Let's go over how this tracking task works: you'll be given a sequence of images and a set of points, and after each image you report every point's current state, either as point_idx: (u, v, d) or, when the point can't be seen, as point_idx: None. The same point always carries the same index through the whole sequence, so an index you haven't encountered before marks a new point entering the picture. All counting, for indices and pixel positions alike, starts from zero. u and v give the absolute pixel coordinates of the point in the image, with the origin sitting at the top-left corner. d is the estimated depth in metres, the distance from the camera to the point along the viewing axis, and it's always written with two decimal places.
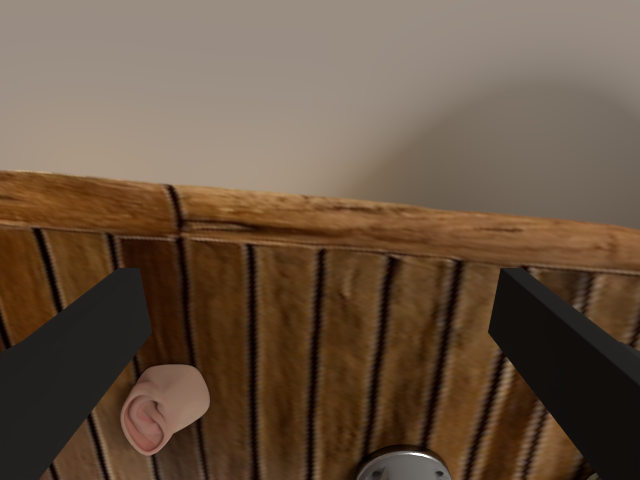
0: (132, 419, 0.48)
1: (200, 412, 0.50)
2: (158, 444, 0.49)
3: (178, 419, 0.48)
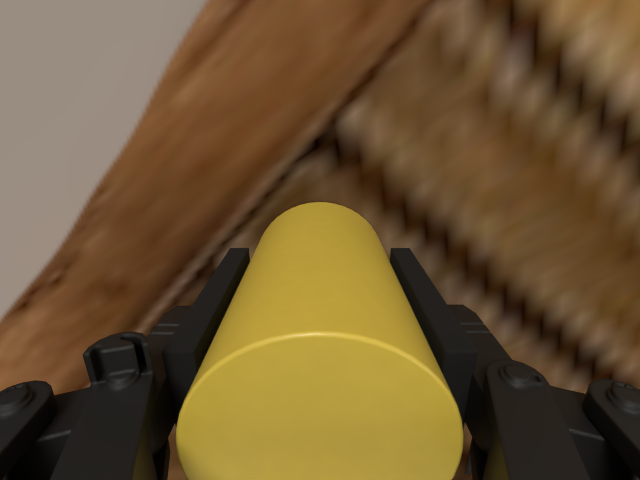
0: None
1: None
2: None
3: None
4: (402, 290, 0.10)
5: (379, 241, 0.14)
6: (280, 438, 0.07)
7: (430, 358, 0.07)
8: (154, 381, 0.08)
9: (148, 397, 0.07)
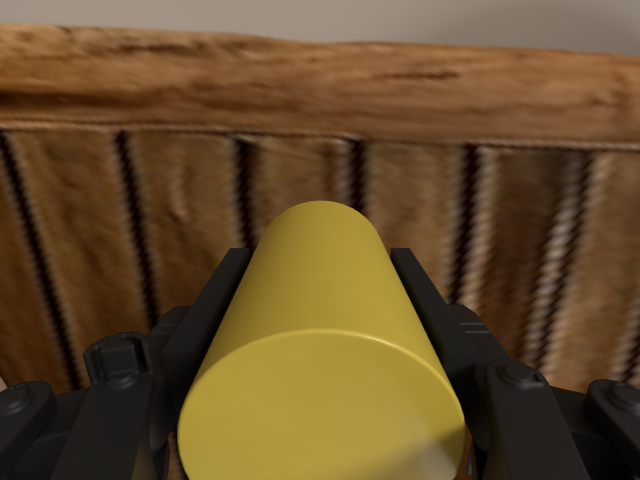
0: None
1: None
2: None
3: None
4: None
5: (380, 240, 0.14)
6: (281, 436, 0.07)
7: (432, 356, 0.07)
8: (154, 381, 0.08)
9: (148, 397, 0.07)
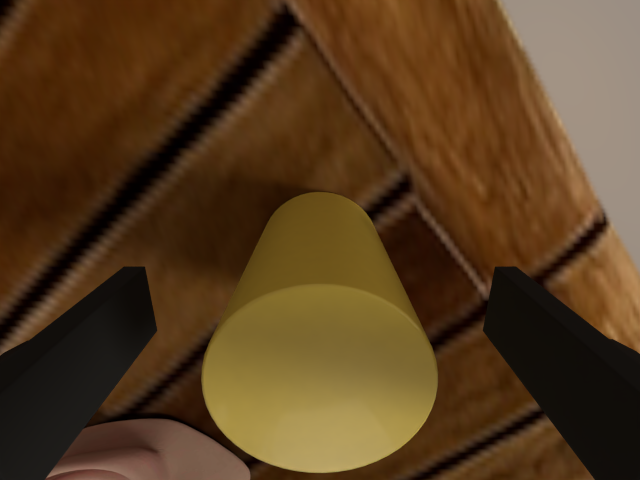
0: None
1: None
2: None
3: None
4: (391, 265, 0.12)
5: (373, 226, 0.15)
6: (286, 376, 0.08)
7: (410, 311, 0.08)
8: None
9: None
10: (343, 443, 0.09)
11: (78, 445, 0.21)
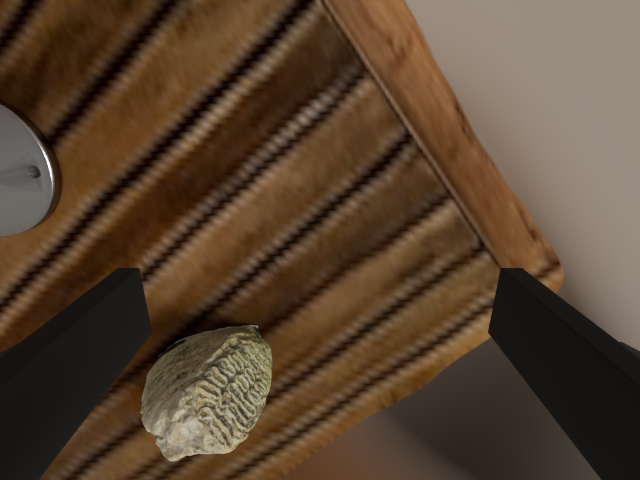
0: None
1: None
2: None
3: None
4: None
5: None
6: None
7: None
8: None
9: None
10: None
11: None
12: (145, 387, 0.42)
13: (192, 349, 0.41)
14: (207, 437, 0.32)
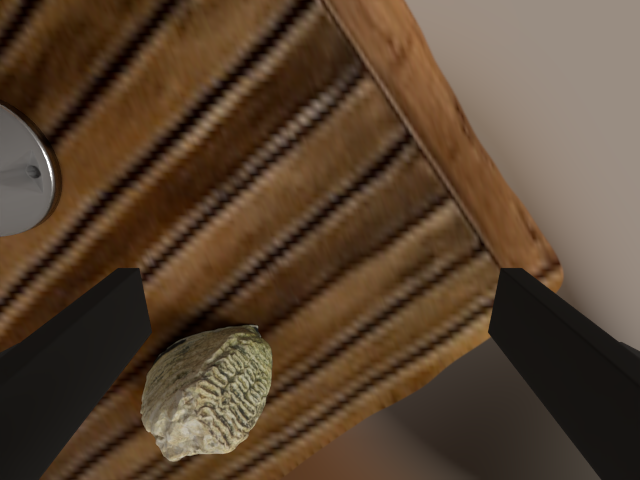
0: None
1: None
2: None
3: None
4: None
5: None
6: None
7: None
8: None
9: None
10: None
11: None
12: (145, 387, 0.42)
13: (192, 349, 0.41)
14: (207, 437, 0.32)
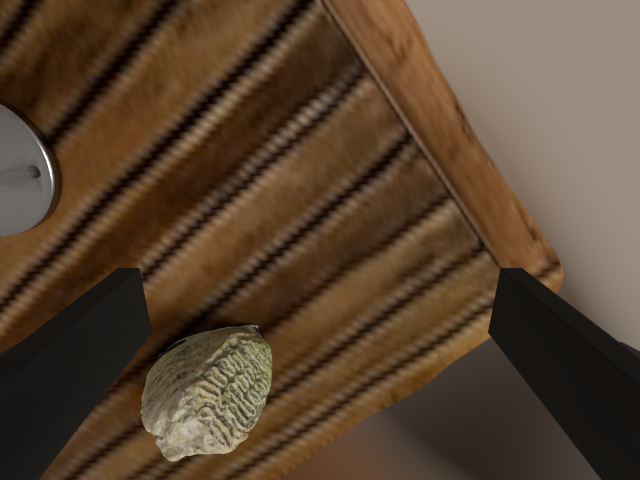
0: None
1: None
2: None
3: None
4: None
5: None
6: None
7: None
8: None
9: None
10: None
11: None
12: (145, 387, 0.42)
13: (192, 349, 0.41)
14: (207, 437, 0.32)
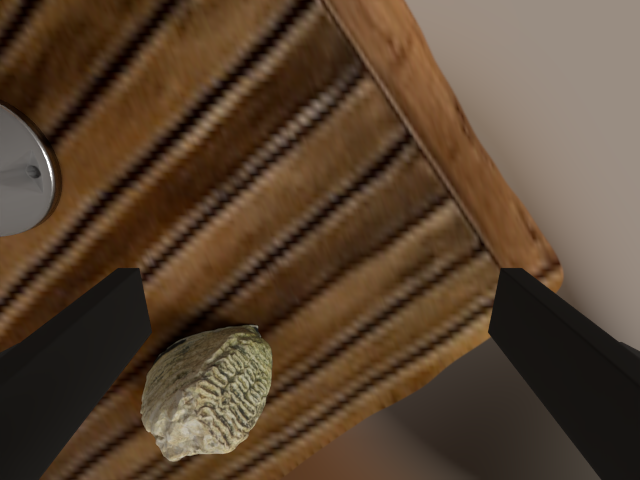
0: None
1: None
2: None
3: None
4: None
5: None
6: None
7: None
8: None
9: None
10: None
11: None
12: (145, 387, 0.42)
13: (192, 349, 0.41)
14: (207, 437, 0.32)
